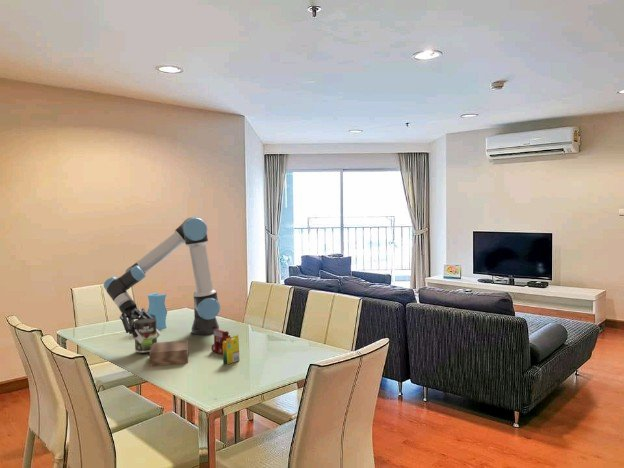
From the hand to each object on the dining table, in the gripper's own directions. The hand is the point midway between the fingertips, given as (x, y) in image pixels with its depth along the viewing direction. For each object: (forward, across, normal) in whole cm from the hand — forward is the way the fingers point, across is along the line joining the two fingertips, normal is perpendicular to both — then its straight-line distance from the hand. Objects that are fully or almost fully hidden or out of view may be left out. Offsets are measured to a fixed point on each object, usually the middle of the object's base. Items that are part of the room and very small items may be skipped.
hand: (150, 338), depth 222 cm
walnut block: (+16, +4, +6) cm, 18 cm away
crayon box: (+36, -4, +26) cm, 45 cm away
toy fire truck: (+28, -15, +17) cm, 36 cm away
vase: (-17, -36, -28) cm, 48 cm away
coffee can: (+2, 0, -6) cm, 6 cm away
